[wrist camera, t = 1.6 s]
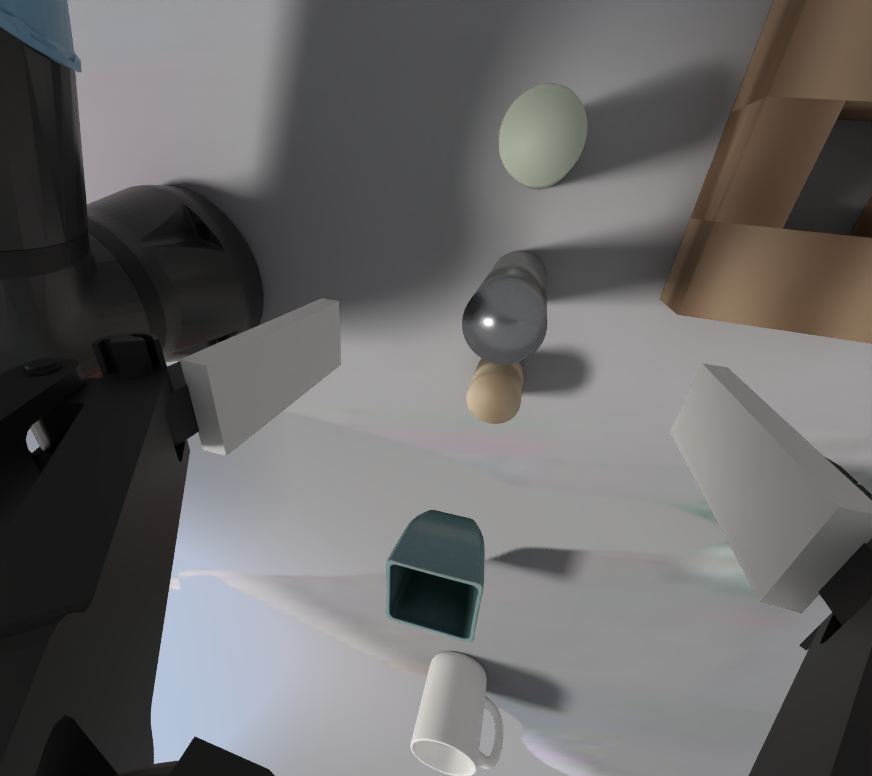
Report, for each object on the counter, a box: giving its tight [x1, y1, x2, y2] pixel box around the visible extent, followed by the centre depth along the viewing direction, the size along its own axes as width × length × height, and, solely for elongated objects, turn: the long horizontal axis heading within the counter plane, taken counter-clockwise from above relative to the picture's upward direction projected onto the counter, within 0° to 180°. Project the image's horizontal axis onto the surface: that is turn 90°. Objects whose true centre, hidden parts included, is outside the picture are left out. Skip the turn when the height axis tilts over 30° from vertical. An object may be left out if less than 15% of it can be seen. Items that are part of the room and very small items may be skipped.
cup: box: [411, 651, 503, 776], centre depth 50 cm, size 8×12×10 cm
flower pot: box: [386, 510, 484, 642], centre depth 38 cm, size 9×9×9 cm
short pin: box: [466, 358, 524, 424], centre depth 30 cm, size 4×4×5 cm
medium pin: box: [499, 83, 588, 189], centre depth 21 cm, size 4×4×8 cm
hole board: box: [660, 0, 872, 344], centre depth 20 cm, size 12×16×4 cm
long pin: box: [462, 251, 547, 364], centre depth 23 cm, size 4×4×12 cm
